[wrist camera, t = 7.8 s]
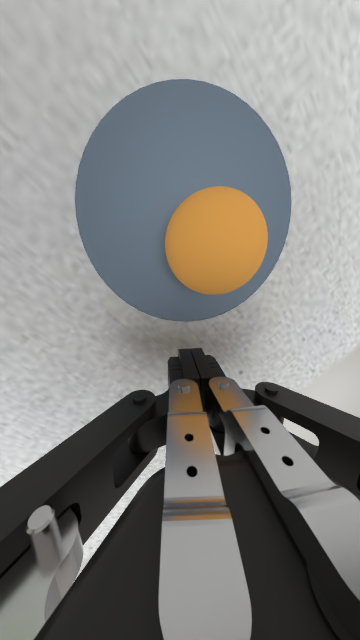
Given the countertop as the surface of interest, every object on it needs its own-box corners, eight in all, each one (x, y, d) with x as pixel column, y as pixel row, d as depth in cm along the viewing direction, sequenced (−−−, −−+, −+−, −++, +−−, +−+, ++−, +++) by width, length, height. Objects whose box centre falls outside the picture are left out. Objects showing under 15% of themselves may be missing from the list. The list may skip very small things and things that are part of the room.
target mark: (92, 324, 14) (91, 324, 14) (58, 73, 11) (56, 70, 10) (276, 317, 16) (277, 317, 15) (304, 90, 12) (306, 87, 12)
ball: (185, 139, 8) (173, 199, 13) (154, 281, 8) (155, 282, 14) (309, 184, 8) (250, 223, 14) (271, 309, 9) (229, 300, 15)
